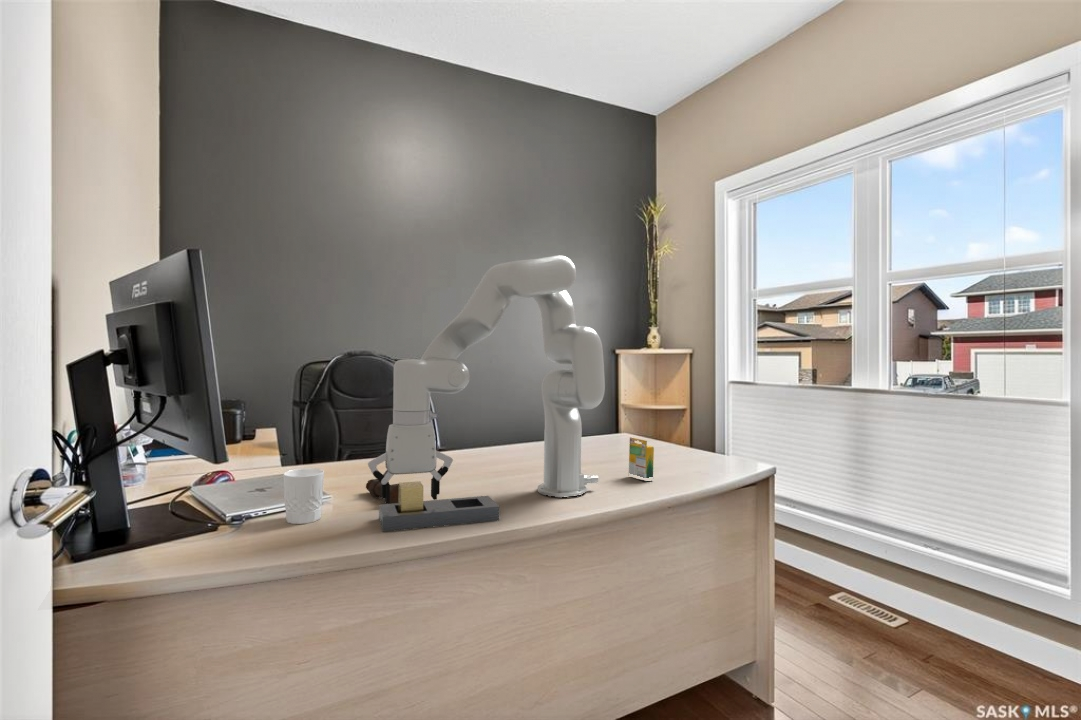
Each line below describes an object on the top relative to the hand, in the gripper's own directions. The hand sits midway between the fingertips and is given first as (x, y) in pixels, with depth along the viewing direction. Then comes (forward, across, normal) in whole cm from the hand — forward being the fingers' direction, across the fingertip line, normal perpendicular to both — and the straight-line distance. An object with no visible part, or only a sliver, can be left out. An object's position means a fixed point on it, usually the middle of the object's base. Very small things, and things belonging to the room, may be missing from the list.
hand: (410, 499), depth 115 cm
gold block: (+5, 0, 0) cm, 5 cm away
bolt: (+5, +4, -20) cm, 21 cm away
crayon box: (+5, -67, -19) cm, 70 cm away
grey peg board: (+5, -6, 0) cm, 8 cm away
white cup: (+5, +21, -9) cm, 23 cm away
